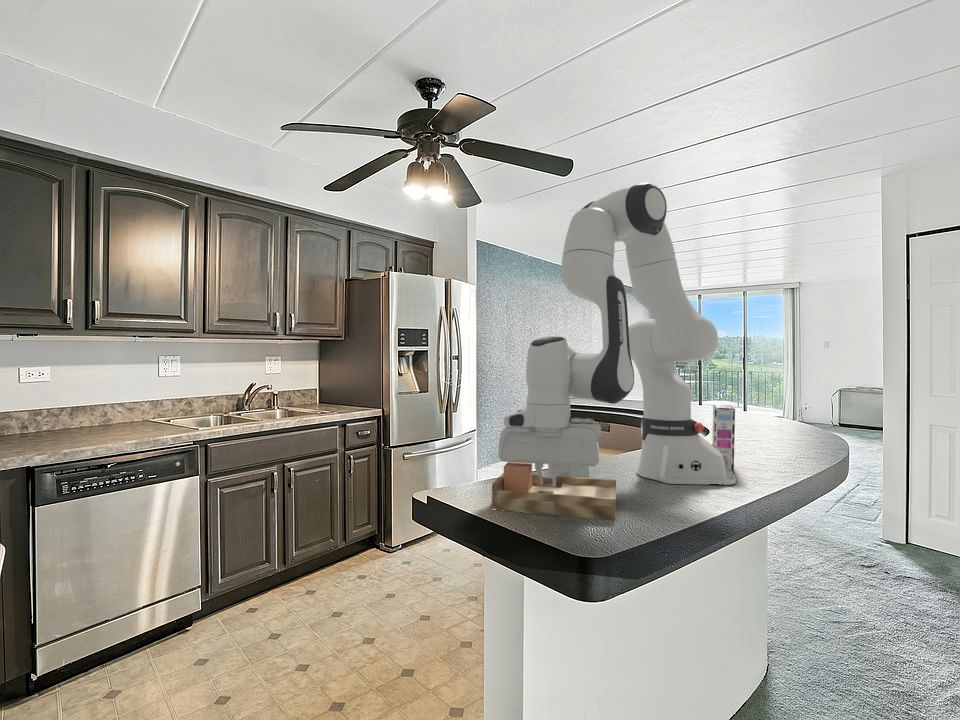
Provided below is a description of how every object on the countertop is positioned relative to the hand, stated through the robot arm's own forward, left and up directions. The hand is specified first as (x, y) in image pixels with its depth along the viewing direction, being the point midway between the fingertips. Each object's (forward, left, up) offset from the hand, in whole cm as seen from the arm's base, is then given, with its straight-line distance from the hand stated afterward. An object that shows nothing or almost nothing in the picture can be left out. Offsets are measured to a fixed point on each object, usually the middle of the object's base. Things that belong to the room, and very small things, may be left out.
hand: (548, 485), depth 105 cm
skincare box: (-2, -17, -4) cm, 18 cm away
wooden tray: (-2, 0, -4) cm, 4 cm away
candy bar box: (-40, -43, -4) cm, 59 cm away
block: (+6, +1, -1) cm, 6 cm away
